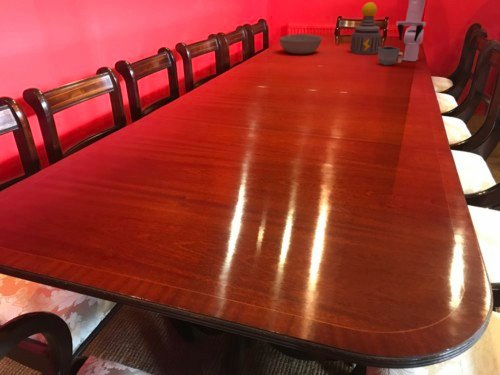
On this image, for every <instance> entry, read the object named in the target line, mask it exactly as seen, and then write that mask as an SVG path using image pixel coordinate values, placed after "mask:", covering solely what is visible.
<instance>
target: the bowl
mask: <svg viewBox="0 0 500 375" xmlns="http://www.w3.org/2000/svg"><path fill="white" fill-rule="evenodd" d="M322 40H323V37H321V36H319V35H316V34H315V35H314V34H307V33H305V34H304V33H300V34H299V33H298V34H287V35H285V36H281V37H280V38H279V39H278V42H279V43H280V46H281V48H282V49H283V51H285V52H286V53H289V54H291V55H292V54H293V55H308V54H312V53H314V52H316V51H317V50H318V48H319V47H320V45H321V43H322Z"/></svg>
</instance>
